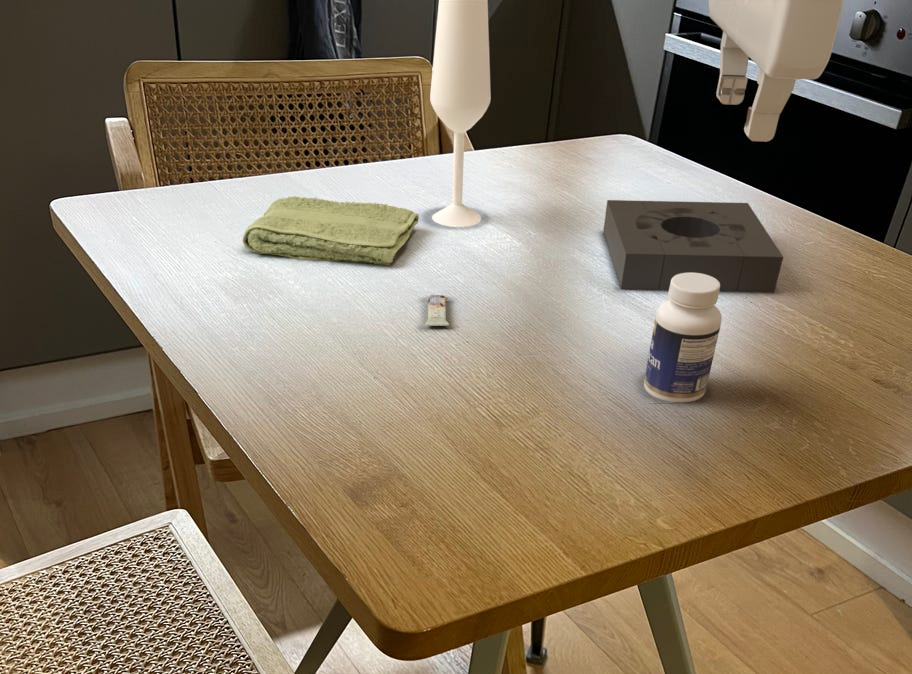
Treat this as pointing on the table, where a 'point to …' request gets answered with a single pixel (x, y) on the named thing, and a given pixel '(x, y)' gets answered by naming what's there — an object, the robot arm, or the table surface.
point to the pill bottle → (684, 339)
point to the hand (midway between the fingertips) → (742, 119)
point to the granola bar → (437, 310)
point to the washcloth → (331, 230)
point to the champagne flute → (460, 87)
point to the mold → (690, 244)
